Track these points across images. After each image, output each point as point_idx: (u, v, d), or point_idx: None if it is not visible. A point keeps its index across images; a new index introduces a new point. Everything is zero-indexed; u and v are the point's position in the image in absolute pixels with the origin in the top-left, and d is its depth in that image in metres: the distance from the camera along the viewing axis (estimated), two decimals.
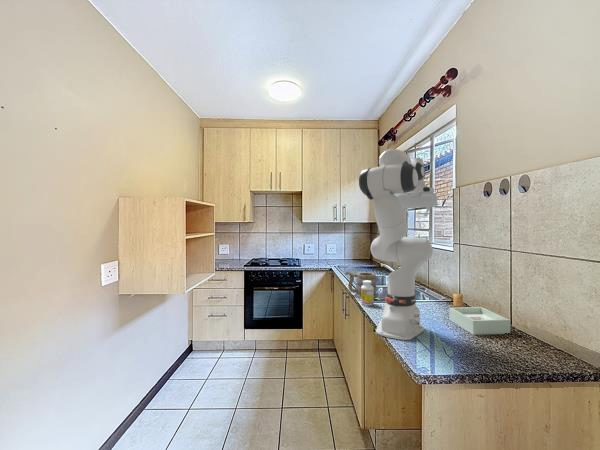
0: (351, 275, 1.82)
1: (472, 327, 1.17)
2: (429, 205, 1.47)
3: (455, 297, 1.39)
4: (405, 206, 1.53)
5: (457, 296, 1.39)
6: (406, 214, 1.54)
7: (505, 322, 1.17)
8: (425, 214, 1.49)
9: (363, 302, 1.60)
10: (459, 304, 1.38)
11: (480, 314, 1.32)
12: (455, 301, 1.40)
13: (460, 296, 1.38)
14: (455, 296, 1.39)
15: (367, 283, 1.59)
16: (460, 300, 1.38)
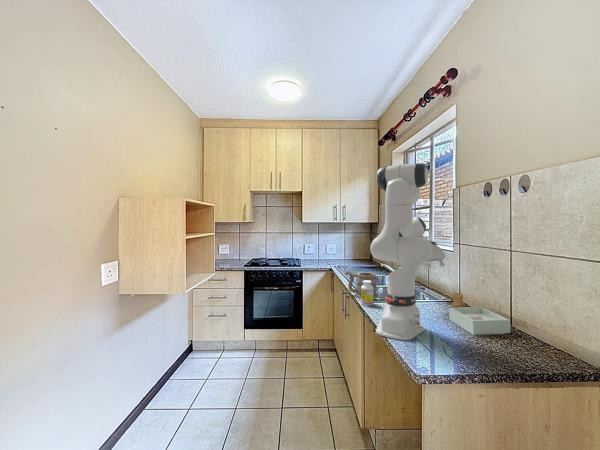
0: (351, 275, 1.82)
1: (472, 327, 1.17)
2: (441, 255, 1.57)
3: (455, 297, 1.39)
4: None
5: (457, 296, 1.39)
6: (429, 264, 1.50)
7: (505, 322, 1.17)
8: (443, 263, 1.54)
9: (363, 302, 1.60)
10: (459, 304, 1.38)
11: (480, 314, 1.32)
12: (455, 301, 1.40)
13: (460, 296, 1.38)
14: (455, 296, 1.39)
15: (367, 283, 1.59)
16: (460, 300, 1.38)
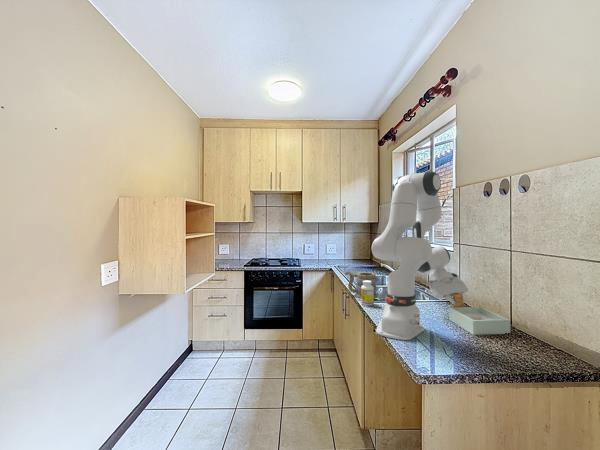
0: (351, 275, 1.82)
1: (472, 327, 1.17)
2: (464, 290, 1.45)
3: (455, 297, 1.39)
4: (447, 292, 1.40)
5: (457, 296, 1.39)
6: (454, 300, 1.39)
7: (505, 322, 1.17)
8: (463, 299, 1.41)
9: (363, 302, 1.60)
10: (459, 304, 1.38)
11: (480, 314, 1.32)
12: None
13: (460, 296, 1.38)
14: (455, 296, 1.39)
15: (367, 283, 1.59)
16: (460, 300, 1.38)
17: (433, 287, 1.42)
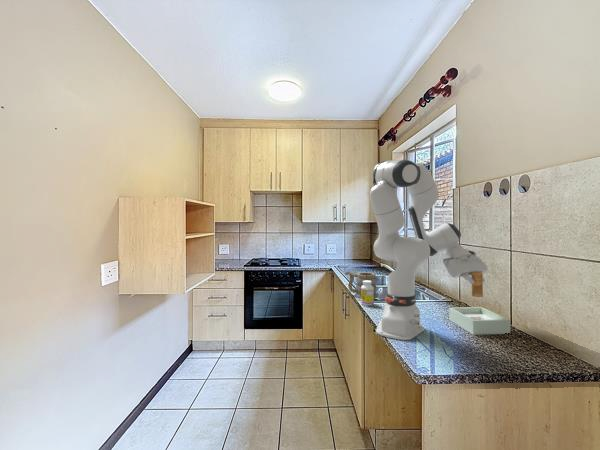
0: (351, 275, 1.82)
1: (472, 327, 1.17)
2: (483, 268, 1.30)
3: (474, 276, 1.24)
4: (464, 270, 1.25)
5: (476, 274, 1.24)
6: (473, 279, 1.24)
7: (505, 322, 1.17)
8: None
9: (363, 302, 1.60)
10: (479, 283, 1.23)
11: (480, 314, 1.32)
12: None
13: (480, 274, 1.23)
14: (474, 274, 1.24)
15: (367, 283, 1.59)
16: (480, 279, 1.23)
17: (449, 265, 1.27)
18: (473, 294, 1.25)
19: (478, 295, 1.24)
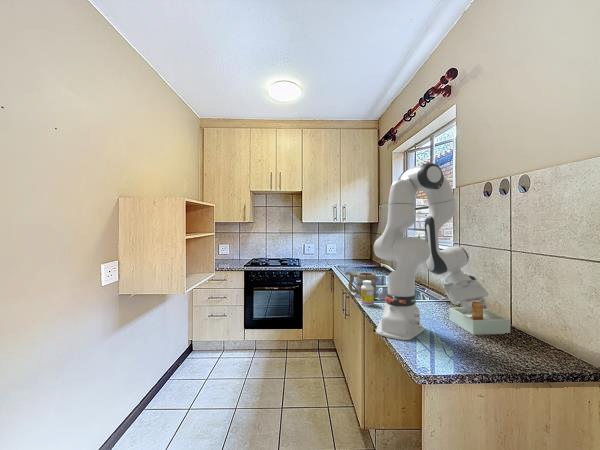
0: (351, 275, 1.82)
1: (472, 327, 1.17)
2: (483, 294, 1.30)
3: (474, 306, 1.24)
4: (465, 297, 1.25)
5: (477, 305, 1.24)
6: (470, 307, 1.23)
7: (505, 322, 1.17)
8: (486, 305, 1.27)
9: (363, 302, 1.60)
10: (479, 314, 1.23)
11: None
12: (474, 311, 1.24)
13: (480, 305, 1.23)
14: (474, 305, 1.24)
15: (367, 283, 1.59)
16: (480, 310, 1.23)
17: (449, 291, 1.27)
18: None
19: None
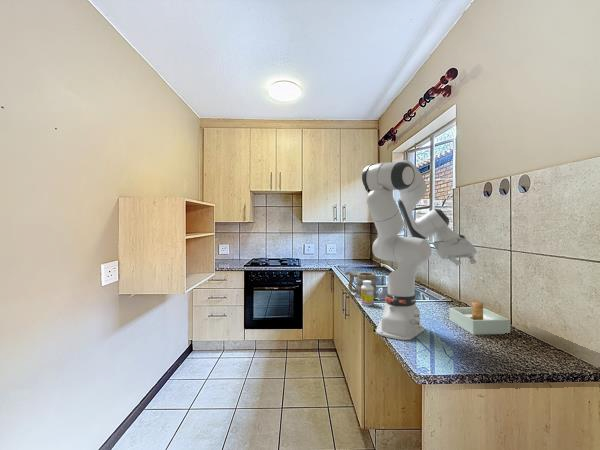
0: (351, 275, 1.82)
1: (472, 327, 1.17)
2: (472, 251, 1.35)
3: (474, 306, 1.24)
4: (453, 252, 1.31)
5: (477, 305, 1.24)
6: (458, 261, 1.29)
7: (505, 322, 1.17)
8: (474, 260, 1.32)
9: (363, 302, 1.60)
10: (479, 314, 1.23)
11: None
12: (474, 311, 1.24)
13: (480, 305, 1.23)
14: (474, 305, 1.24)
15: (367, 283, 1.59)
16: (480, 310, 1.23)
17: (438, 247, 1.32)
18: None
19: None
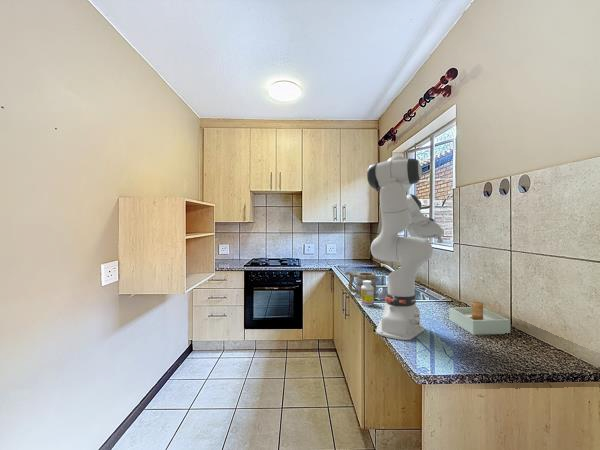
0: (351, 275, 1.82)
1: (472, 327, 1.17)
2: (440, 232, 1.53)
3: (474, 306, 1.24)
4: (423, 232, 1.49)
5: (477, 305, 1.24)
6: (427, 240, 1.47)
7: (505, 322, 1.17)
8: (441, 239, 1.50)
9: (363, 302, 1.60)
10: (479, 314, 1.23)
11: None
12: (474, 311, 1.24)
13: (480, 305, 1.23)
14: (474, 305, 1.24)
15: (367, 283, 1.59)
16: (480, 310, 1.23)
17: (410, 228, 1.50)
18: None
19: None
